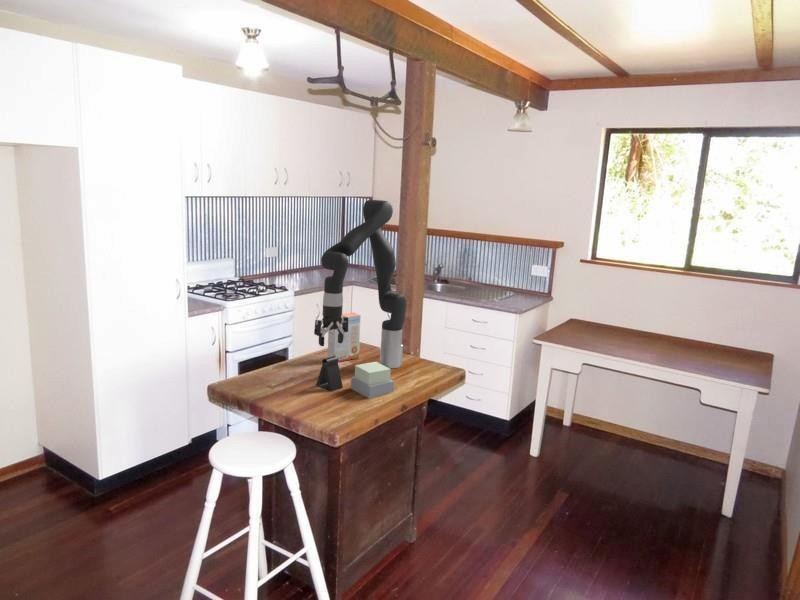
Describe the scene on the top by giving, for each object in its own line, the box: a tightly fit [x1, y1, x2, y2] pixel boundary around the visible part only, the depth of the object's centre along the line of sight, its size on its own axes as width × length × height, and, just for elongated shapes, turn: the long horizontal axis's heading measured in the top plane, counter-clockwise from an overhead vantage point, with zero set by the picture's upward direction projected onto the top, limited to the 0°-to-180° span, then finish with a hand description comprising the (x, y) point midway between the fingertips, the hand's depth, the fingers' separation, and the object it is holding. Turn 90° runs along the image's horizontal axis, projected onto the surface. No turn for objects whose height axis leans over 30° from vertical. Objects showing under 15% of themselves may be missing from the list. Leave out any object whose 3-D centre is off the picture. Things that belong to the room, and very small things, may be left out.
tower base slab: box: [350, 376, 395, 399], centre depth 218 cm, size 12×12×5 cm
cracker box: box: [327, 312, 361, 363], centre depth 252 cm, size 14×6×21 cm, turn 130°
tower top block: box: [354, 361, 392, 385], centre depth 217 cm, size 10×10×5 cm
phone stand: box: [315, 356, 343, 392], centre depth 218 cm, size 9×6×12 cm, turn 51°
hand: (330, 344), depth 216 cm, fingers open, 8 cm apart
